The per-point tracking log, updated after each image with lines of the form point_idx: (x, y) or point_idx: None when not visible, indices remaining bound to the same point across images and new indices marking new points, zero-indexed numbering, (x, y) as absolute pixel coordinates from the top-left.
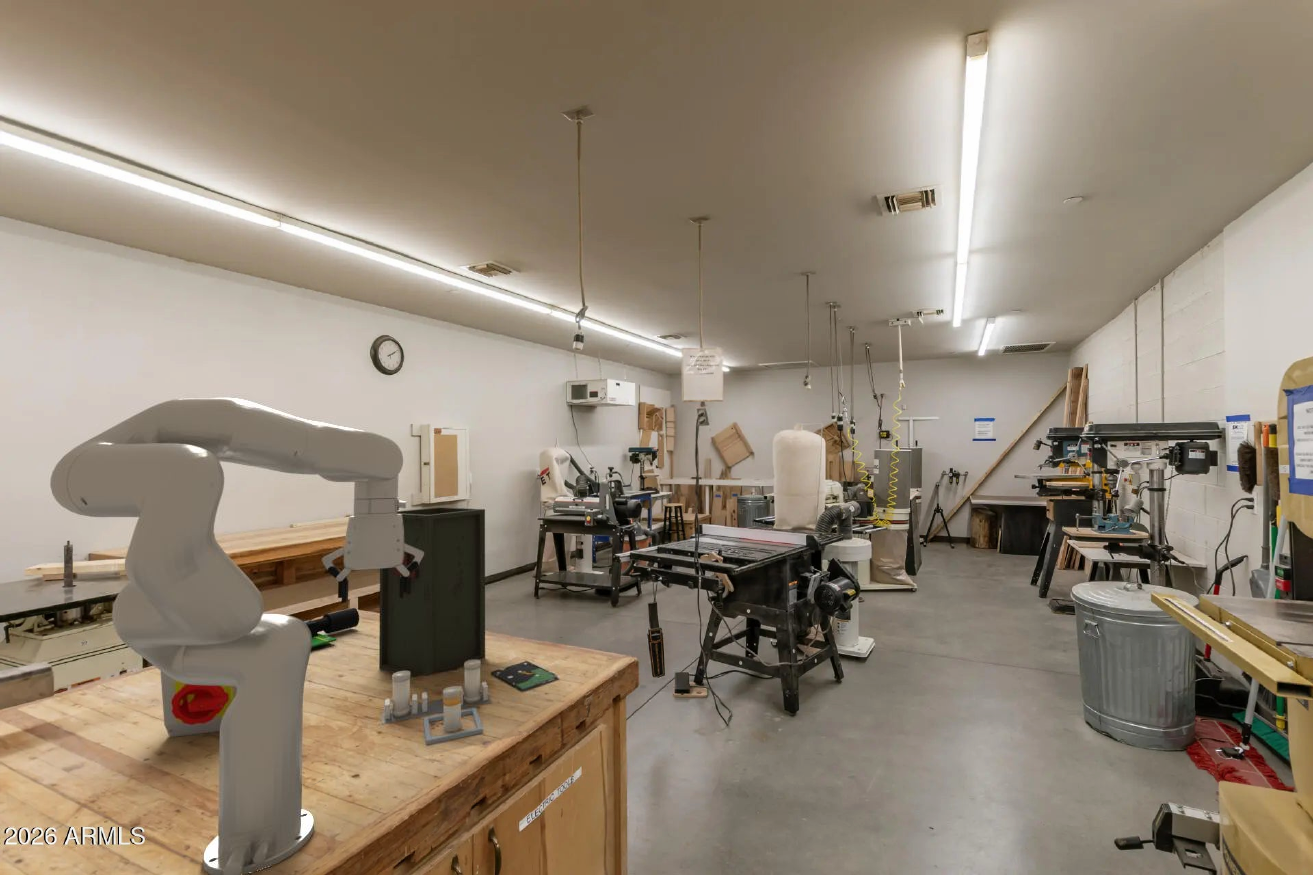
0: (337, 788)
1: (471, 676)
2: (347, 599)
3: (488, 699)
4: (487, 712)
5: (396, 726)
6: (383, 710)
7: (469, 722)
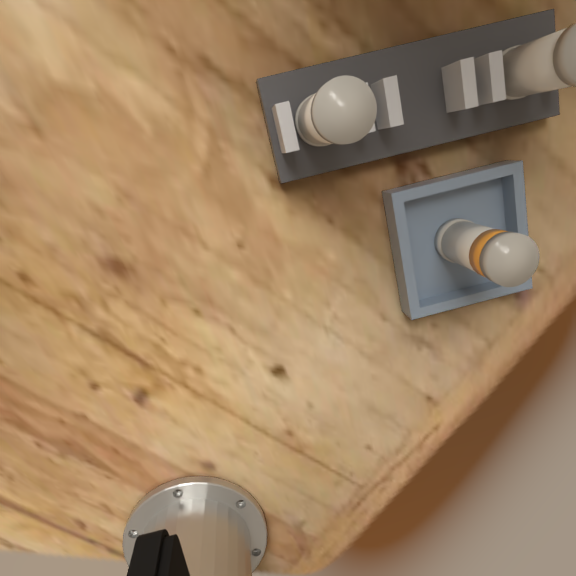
0: (257, 408)
1: (559, 87)
2: (185, 566)
3: None
4: (534, 128)
5: None
6: (260, 83)
7: None
